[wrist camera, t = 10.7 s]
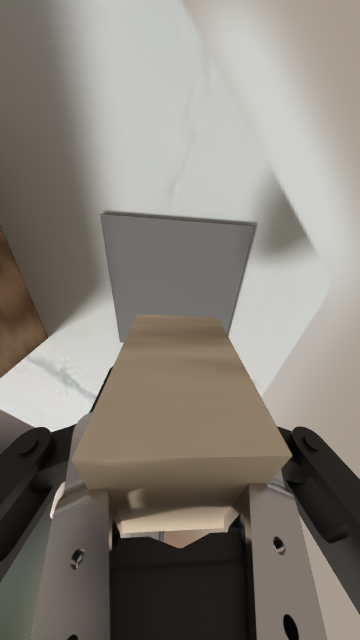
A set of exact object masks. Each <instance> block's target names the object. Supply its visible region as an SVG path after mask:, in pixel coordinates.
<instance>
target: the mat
mask: <svg viewBox="0 0 360 640" xmlns="http://www.w3.org/2000/svg"><path fill="white" fill-rule="evenodd" d="M100 215H101V222H102V228H103V235H104V241H105V248H106V254H107V261H108V267H109V274H110V280H111V287H112V293H113V299H114V306H115V312H116V319H117V325H118V332H119V338H120V342H125V339H126V337H127V335H128V333H129V331H130V328H131V326H132V324H133V322H134V319H135V317H136V315H137V314H148V315H170V316H192V317H215V318H218V319H219V321H220V323H221V325H222V327H223V328H224V330H225V332H226V334H227V333H228V329H229V325H230V321H231V317H232V313H233V310H234V306H235V302H236V298H237V294H238V290H239V286H240V282H241V278H242V274H243V270H244V266H245V262H246V258H247V254H248V250H249V247H250V243H251V239H252V235H253V231H254V227H255V226H246V225H233V224H220V223H207V222H194V221H181V220H168V219H155V218H142V217H130V216H117V215H104V214H100Z"/></svg>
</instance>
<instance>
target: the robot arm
mask: <svg viewBox="0 0 360 640" xmlns="http://www.w3.org/2000/svg"><path fill="white" fill-rule="evenodd" d="M112 368H113V367H112ZM112 368H111V369H110V370H109V372H108V374H107V376H106V379H105V381H104V384H103V385H102V387H101V389H100V391H99V394H98V396H97V398H96V400H95V402H94V404H93V406H92V409H91V410H90V412H89V413H88V414H86V415H85V416H83V417H82V418H81V419H80V420H79V421H78V423H77V424H75V425H72V426H70V427H67V428H64V429H60V430H57V431H54V432H50V431H49V429H47V428H45V427H38V428H34V429H31V430H29V431H27V432H26V433H24V434H22V435H21V436H20V437H18V438H17V439H16V440H15V441H14V442H13V443H12V444H11V445H10V446H9V447H8V448H7V449H6V450H5V451H4V452H3V453H2V454H1V455H0V582H1V580H2V579H3V577H4V576H5V574H6V572H7V571H8V569H9V568H10V566H11V564H12V563H13V561H14V559H15V558H16V556H17V555H18V553H19V552H20V550H21V548H22V547H23V545H24V544H25V542H26V540H27V539H28V537H29V535H30V534H31V532H32V531H33V529H34V527H35V526H36V524H37V523H38V521H39V519H40V518H41V516H42V515H43V513H44V511H45V510H46V508H47V507H48V505H49V503H50V502H51V500H52V499H53V497H54V495H55V494H56V492H57V491H58V489H59V487H60V486H61V484H62V483H64V482H65V488H64V492H63V495H62V497H61V498H60V499H59V500H58V502H57V504H56V507H55V510H54V514H53V519H52V524H51V530H50V535H49V541H48V546H47V552H46V558H45V563H44V568H43V574H42V579H41V585H40V590H39V596H38V602H37V607H36V612H35V618H34V623H33V629H32V634H31V640H327V636H326V632H325V627H324V623H323V619H322V614H321V610H320V606H319V601H318V597H317V593H316V588H315V583H314V579H313V575H312V570H311V566H310V562H309V558H308V553H307V548H306V544H305V540H304V535H303V531H302V526H301V522H300V518H299V515H300V516H301V518H302V520H303V521H304V523H305V524H306V526H307V528H308V530H309V531H310V533H311V535H312V536H313V538H314V540H315V541H316V543H317V545H318V546H319V548H320V550H321V551H322V553H323V555H324V556H325V558H326V559H327V561H328V563H329V564H330V566H331V568H332V569H333V571H334V573H335V574H336V576H337V578H338V579H339V581H340V583H341V584H342V586H343V588H344V589H345V591H346V593H347V594H348V596H349V598H350V599H351V601H352V603H353V604H354V606H355V607H356V609H357V611H358V613H359V614H360V479H359V478H358V477H357V476H356V475H355V474H354V473H353V472H352V471H351V470H350V468H349V467H348V466H347V465H346V464H345V463H344V462H343V461H342V460H341V459H340V458H339V457H338V456H337V454H336V453H335V452H334V451H333V450H332V449H331V448H330V447H329V446H328V445H327V444H326V443H325V442H324V441H323V439H322V438H321V437H320V436H318V435H317V434H316V433H315V432H313V431H312V430H310V429H308V428H305V427H296V428H294V430H293V431H289V430H287V429H283V428H280V427H277V428H278V430H279V432H280V433H281V435H282V437H283V439H284V441H285V443H286V444H287V446H288V448H289V450H290V452H291V454H292V457H291V458H290V459H289V460H288V461H287V463H286V464H285V465H284V466H283V467H282V468H281V469H280V470H279V471H278V473H277V474H276V475H275V476H274V477H273V478H272V479H271V480H270V481H269V483H268V484H255V483H249V484H248V485H247V487H246V488H245V489H244V491H243V492H242V493H241V495H240V496H239V497H238V499H237V500H236V501H235V503H234V504H233V505H232V507H231V508H230V509H229V511H228V512H227V513H226V515H225V516H224V532H223V533H222V532H221V533H209V534H208V535H206V536H204V537H202V538H200V539H198V540H197V541H195V542H193V543H191V544H189V545H187V546H185V547H184V548H176V547H173V546H171V545H168V544H166V543H164V542H161V541H159V540H157V539H154V538H152V537H149V536H148V537H130V538H123V535H122V521H121V518H120V516H119V513H118V511H117V508H116V506H115V504H114V501H113V499H112V496H111V494H110V491H109V489H108V488H101V489H91V490H88V488H87V486H86V485H85V483H84V481H83V479H82V478H81V476H80V474H79V473H78V471H77V469H76V467H75V466H74V464H73V462H72V457H73V455H74V453H75V451H76V449H77V446H78V444H79V442H80V440H81V437H82V435H83V433H84V431H85V428H86V426H87V424H88V422H89V420H90V417H91V415H92V413H93V411H94V408H95V406H96V404H97V402H98V400H99V397H100V395H101V393H102V391H103V388H104V386H105V384H106V382H107V380H108V377H109V375H110V373H111V371H112ZM274 545H275V547H276V550H277V551H276V550H275V547H274ZM77 562H78V568H77V569H76V564H77Z"/></svg>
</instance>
